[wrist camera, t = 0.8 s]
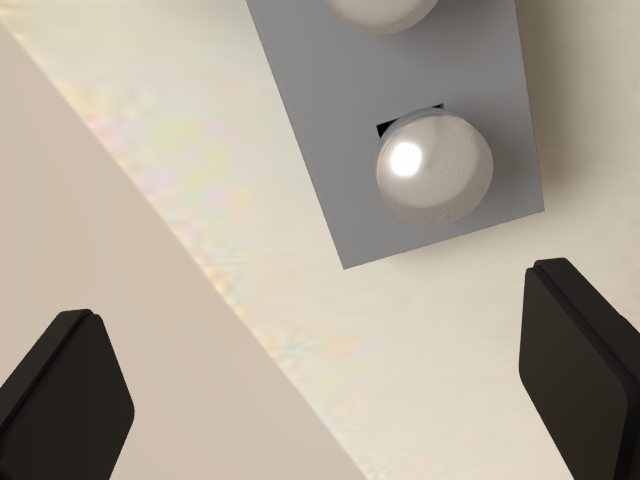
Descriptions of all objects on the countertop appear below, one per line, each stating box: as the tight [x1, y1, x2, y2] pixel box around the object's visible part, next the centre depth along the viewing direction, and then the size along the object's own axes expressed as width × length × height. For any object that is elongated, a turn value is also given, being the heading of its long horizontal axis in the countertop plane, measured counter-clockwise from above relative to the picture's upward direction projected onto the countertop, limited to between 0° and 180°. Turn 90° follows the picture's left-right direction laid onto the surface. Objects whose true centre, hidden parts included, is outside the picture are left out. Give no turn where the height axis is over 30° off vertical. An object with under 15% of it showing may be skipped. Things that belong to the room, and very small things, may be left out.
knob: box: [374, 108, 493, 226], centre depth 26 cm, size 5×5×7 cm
